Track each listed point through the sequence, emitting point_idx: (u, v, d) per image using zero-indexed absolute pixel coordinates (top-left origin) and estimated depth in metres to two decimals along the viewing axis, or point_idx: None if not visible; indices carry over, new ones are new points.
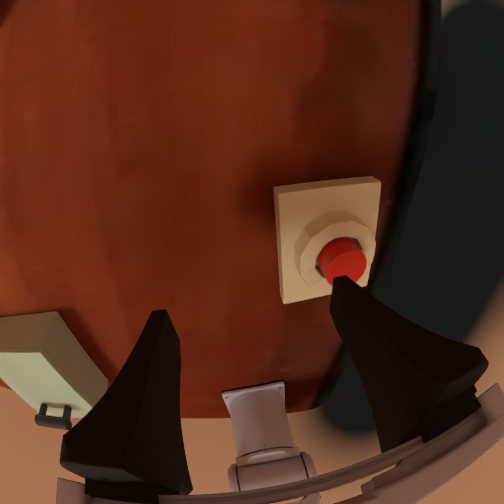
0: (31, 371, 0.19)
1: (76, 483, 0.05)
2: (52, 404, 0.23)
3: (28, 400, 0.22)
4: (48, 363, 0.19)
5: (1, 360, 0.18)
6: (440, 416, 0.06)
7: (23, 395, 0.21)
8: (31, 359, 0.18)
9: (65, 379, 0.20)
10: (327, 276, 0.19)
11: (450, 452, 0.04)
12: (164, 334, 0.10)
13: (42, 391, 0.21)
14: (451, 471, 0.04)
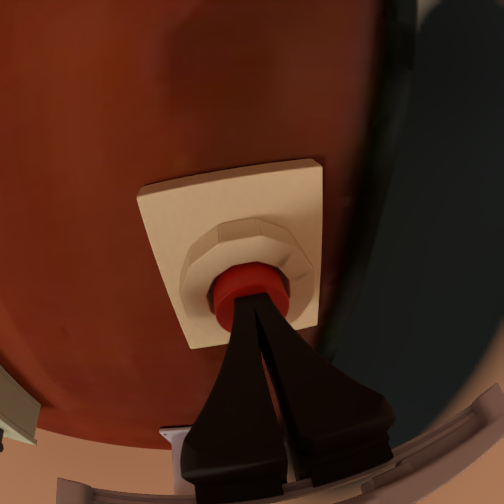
0: None
1: (76, 483, 0.05)
2: None
3: None
4: None
5: None
6: (334, 462, 0.06)
7: None
8: None
9: None
10: (219, 321, 0.12)
11: (450, 452, 0.04)
12: (255, 319, 0.10)
13: None
14: (451, 471, 0.04)
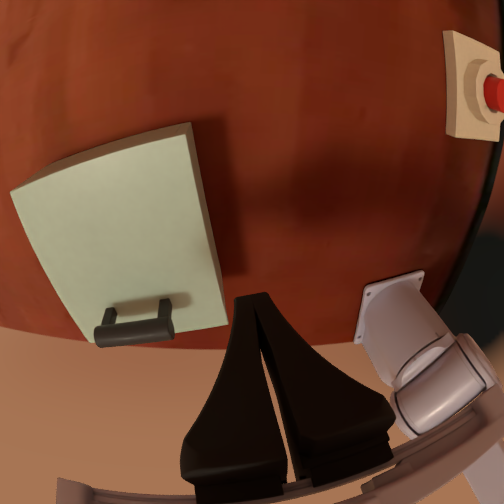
0: (129, 202, 0.14)
1: (76, 483, 0.05)
2: (131, 305, 0.17)
3: (77, 310, 0.17)
4: (188, 163, 0.13)
5: (62, 193, 0.13)
6: (334, 462, 0.06)
7: (73, 294, 0.16)
8: (149, 161, 0.13)
9: (201, 212, 0.15)
10: (497, 95, 0.13)
11: (450, 452, 0.04)
12: (255, 319, 0.10)
13: (126, 265, 0.16)
14: (451, 471, 0.04)
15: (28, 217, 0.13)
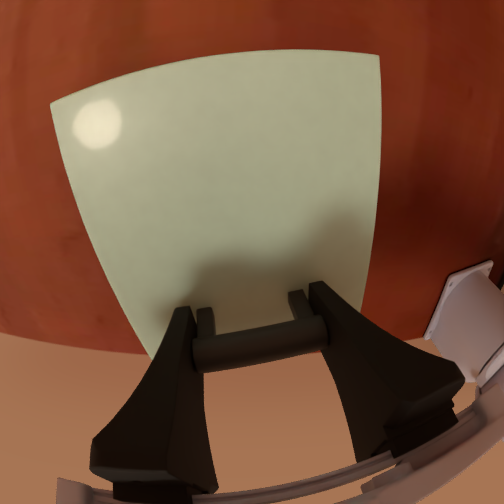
0: (287, 132, 0.09)
1: (76, 483, 0.05)
2: (240, 302, 0.12)
3: (143, 314, 0.12)
4: (378, 94, 0.08)
5: (162, 103, 0.07)
6: (412, 431, 0.06)
7: (141, 289, 0.11)
8: (330, 76, 0.08)
9: None
10: None
11: (450, 452, 0.04)
12: (189, 330, 0.10)
13: (254, 238, 0.11)
14: (451, 471, 0.04)
15: (79, 148, 0.08)
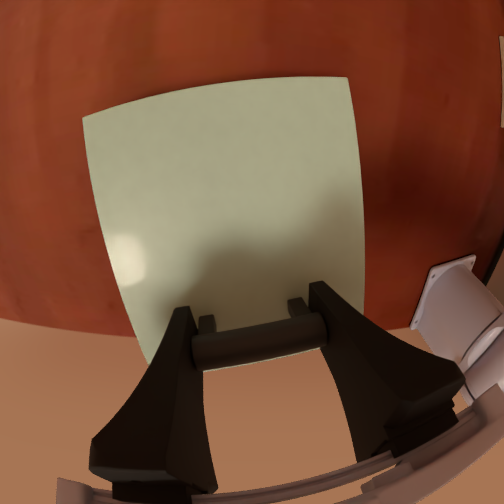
0: (276, 144, 0.11)
1: (76, 483, 0.05)
2: (241, 310, 0.13)
3: (147, 321, 0.12)
4: (350, 109, 0.10)
5: (174, 121, 0.10)
6: (412, 431, 0.06)
7: (147, 292, 0.12)
8: (307, 97, 0.10)
9: (359, 171, 0.11)
10: None
11: (450, 452, 0.04)
12: (189, 330, 0.10)
13: (252, 242, 0.12)
14: (451, 471, 0.04)
15: (103, 156, 0.10)
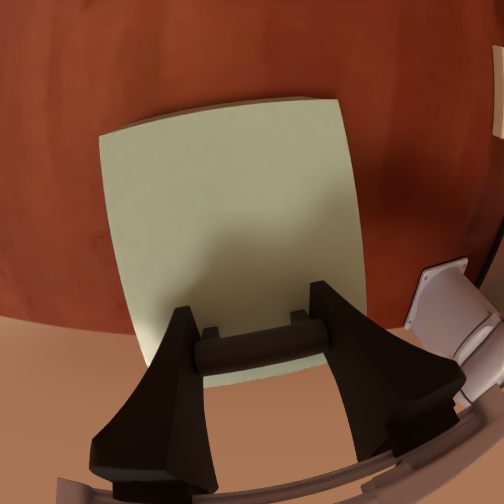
0: (274, 161, 0.12)
1: (76, 483, 0.05)
2: (245, 322, 0.13)
3: (152, 332, 0.12)
4: (342, 128, 0.12)
5: (181, 141, 0.11)
6: (413, 431, 0.06)
7: (153, 303, 0.12)
8: (301, 118, 0.12)
9: None
10: None
11: (450, 452, 0.04)
12: (189, 330, 0.10)
13: (254, 253, 0.12)
14: (451, 471, 0.04)
15: (117, 171, 0.11)
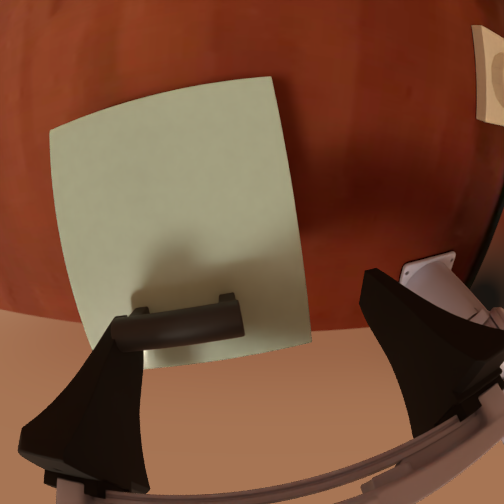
0: (199, 142, 0.11)
1: (76, 483, 0.05)
2: (174, 304, 0.12)
3: (92, 311, 0.12)
4: (274, 104, 0.11)
5: (115, 129, 0.11)
6: (473, 395, 0.06)
7: (91, 282, 0.12)
8: (230, 97, 0.11)
9: (287, 163, 0.12)
10: None
11: (450, 452, 0.04)
12: None
13: (179, 234, 0.12)
14: (451, 471, 0.04)
15: (62, 161, 0.11)
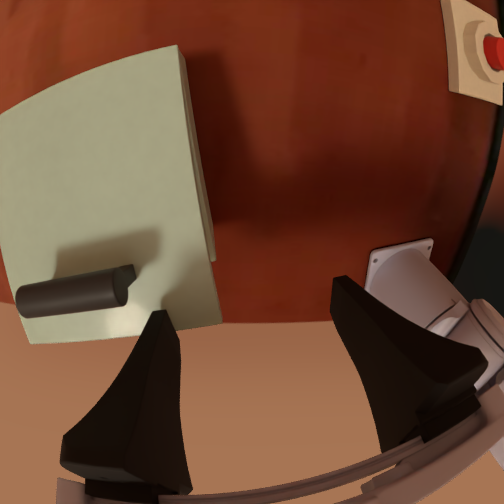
0: (103, 115, 0.10)
1: (76, 483, 0.05)
2: None
3: (19, 283, 0.11)
4: (177, 71, 0.10)
5: (38, 113, 0.09)
6: (440, 416, 0.06)
7: (17, 256, 0.11)
8: (134, 70, 0.10)
9: (187, 127, 0.11)
10: (497, 51, 0.11)
11: (450, 452, 0.04)
12: (164, 334, 0.10)
13: (83, 205, 0.11)
14: (451, 471, 0.04)
15: None
